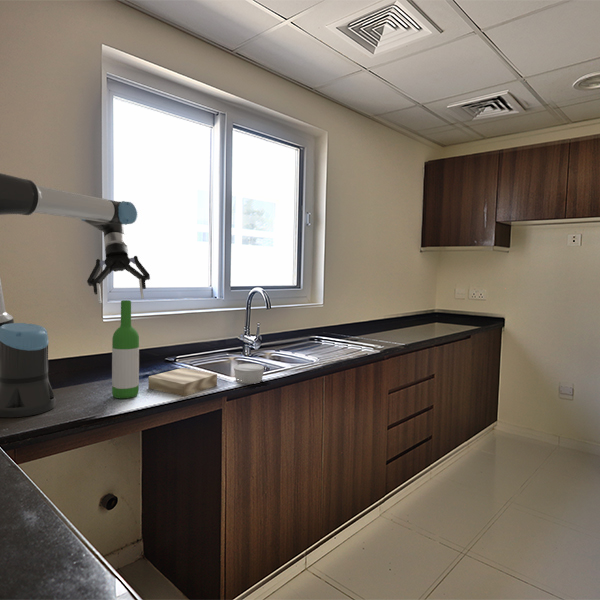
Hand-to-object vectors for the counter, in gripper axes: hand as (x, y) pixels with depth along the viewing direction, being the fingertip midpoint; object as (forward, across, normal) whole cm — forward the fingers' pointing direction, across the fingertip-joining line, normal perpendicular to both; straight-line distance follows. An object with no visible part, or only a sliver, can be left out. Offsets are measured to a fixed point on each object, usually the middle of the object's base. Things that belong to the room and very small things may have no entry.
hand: (121, 299), depth 149 cm
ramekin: (+33, -40, -14) cm, 53 cm away
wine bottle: (+33, +2, -2) cm, 34 cm away
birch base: (+32, -16, -9) cm, 37 cm away
